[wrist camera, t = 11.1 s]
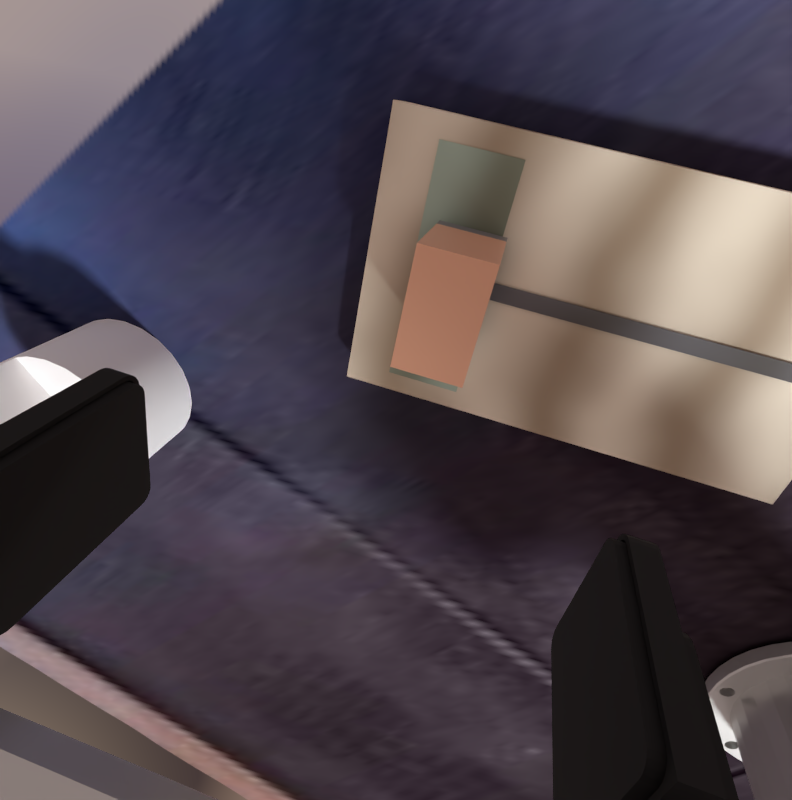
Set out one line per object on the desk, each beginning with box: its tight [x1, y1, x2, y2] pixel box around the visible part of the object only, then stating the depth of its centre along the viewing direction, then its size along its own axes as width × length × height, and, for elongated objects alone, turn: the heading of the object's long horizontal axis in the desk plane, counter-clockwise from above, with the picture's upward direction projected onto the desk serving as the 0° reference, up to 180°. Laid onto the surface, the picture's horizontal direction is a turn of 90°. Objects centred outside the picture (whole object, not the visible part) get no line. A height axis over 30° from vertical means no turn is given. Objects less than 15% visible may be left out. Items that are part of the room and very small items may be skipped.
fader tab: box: [390, 220, 508, 388], centre depth 21 cm, size 3×5×5 cm, turn 169°
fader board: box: [347, 100, 792, 504], centre depth 24 cm, size 22×13×2 cm, turn 79°
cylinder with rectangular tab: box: [0, 319, 192, 458], centre depth 29 cm, size 9×9×12 cm
